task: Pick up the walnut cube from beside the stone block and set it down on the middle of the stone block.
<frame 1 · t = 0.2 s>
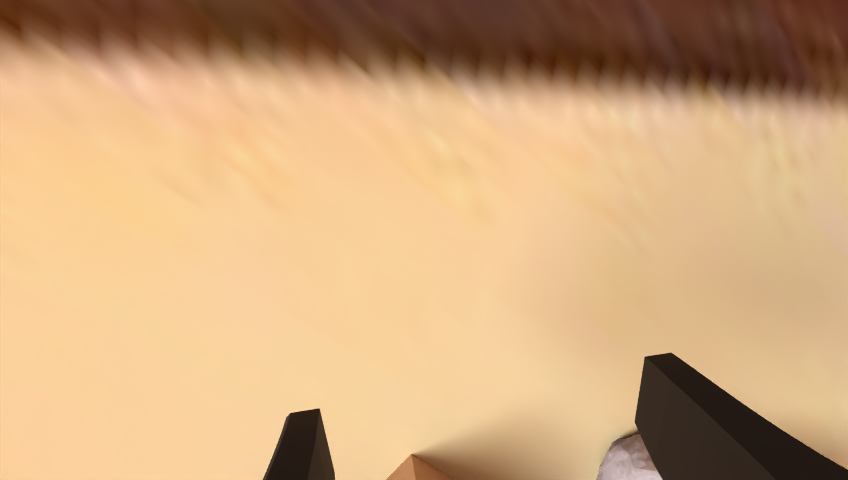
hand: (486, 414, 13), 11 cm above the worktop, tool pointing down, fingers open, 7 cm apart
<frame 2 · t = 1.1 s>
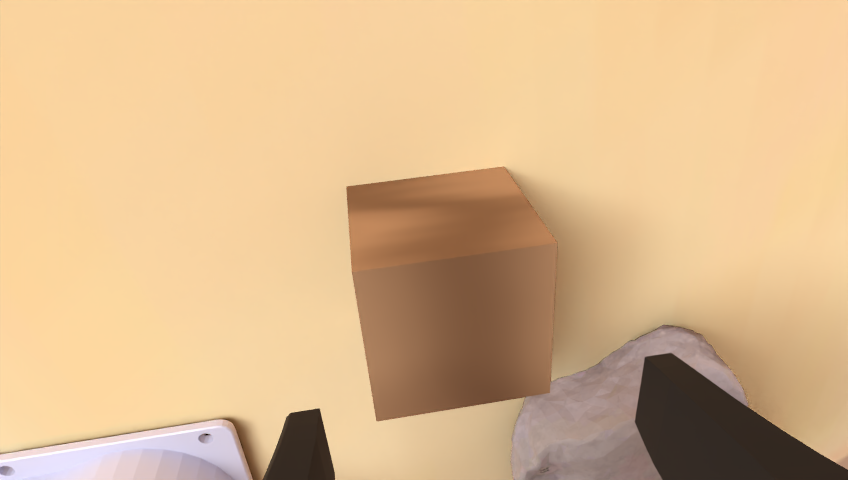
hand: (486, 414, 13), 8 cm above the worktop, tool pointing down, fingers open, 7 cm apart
stone block: (610, 438, 26), on the worktop
walnut cube: (431, 243, 19), on the worktop
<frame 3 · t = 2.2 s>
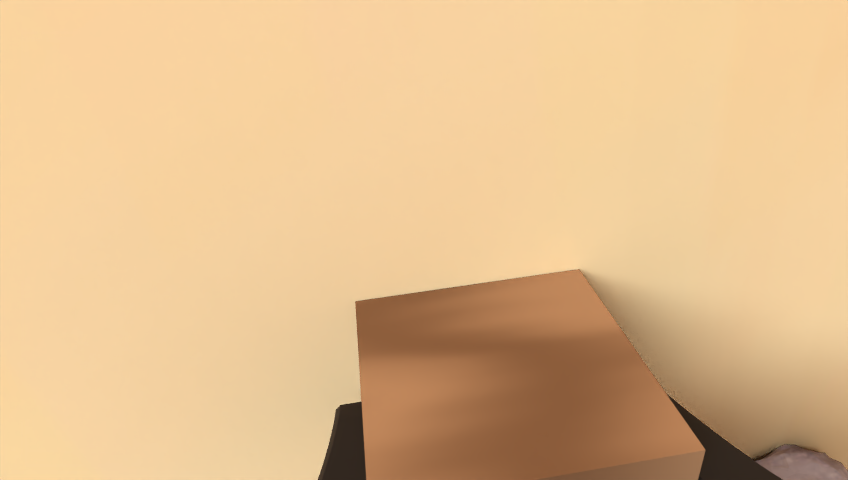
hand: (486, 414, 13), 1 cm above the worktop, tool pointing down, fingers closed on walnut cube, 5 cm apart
walnut cube: (472, 370, 14), on the worktop, touching gripper
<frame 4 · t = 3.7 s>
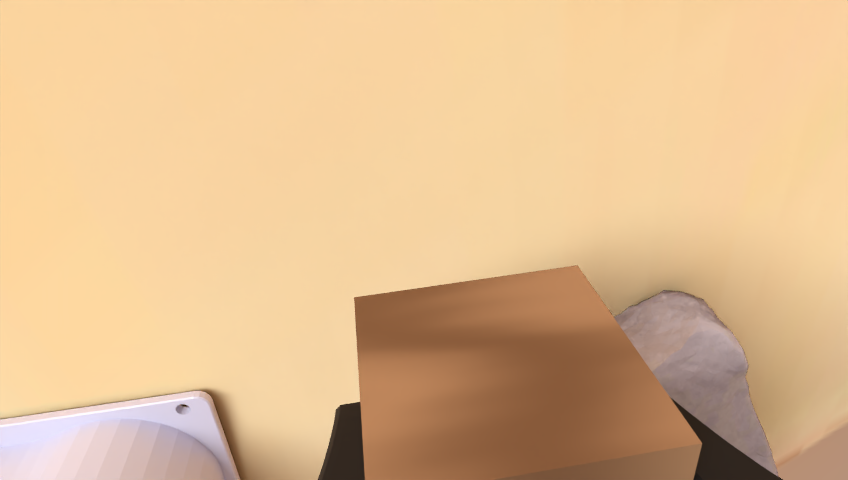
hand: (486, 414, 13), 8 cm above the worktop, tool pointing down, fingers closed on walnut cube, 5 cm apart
stone block: (611, 407, 26), on the worktop
walnut cube: (471, 366, 14), point 7 cm above the worktop, touching gripper
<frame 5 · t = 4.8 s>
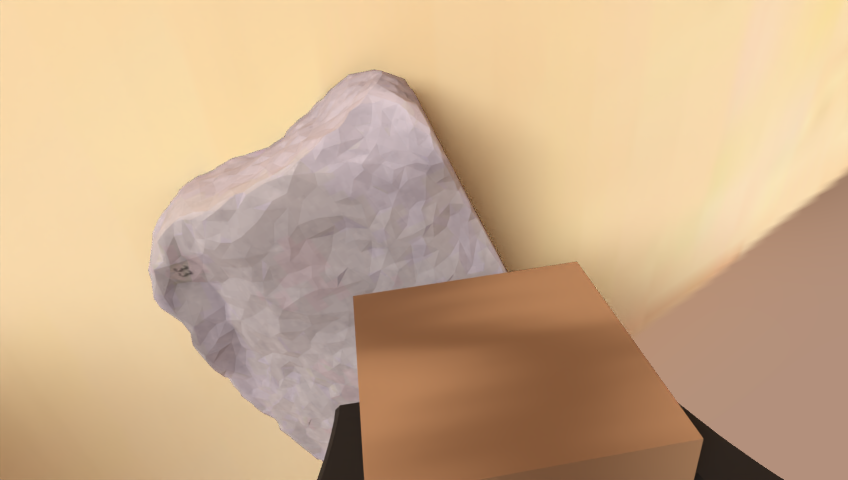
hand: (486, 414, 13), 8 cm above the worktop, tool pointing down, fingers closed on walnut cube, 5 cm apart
stone block: (350, 271, 20), on the worktop
walnut cube: (471, 364, 14), point 6 cm above the worktop, touching gripper
when the fingers open (6 cm above the worktop, at t = 5.6 s): walnut cube stays where it is, resting on stone block.
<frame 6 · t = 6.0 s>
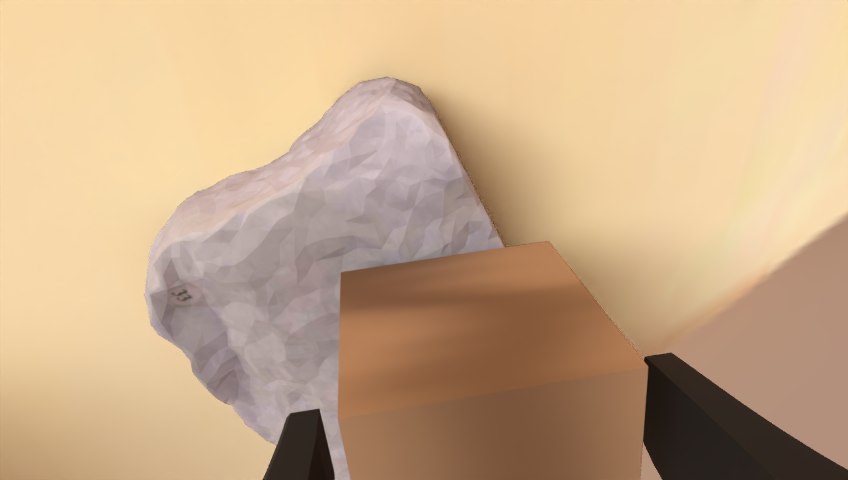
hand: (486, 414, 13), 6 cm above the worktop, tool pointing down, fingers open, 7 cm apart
stone block: (360, 290, 19), on the worktop, touching walnut cube
walnut cube: (454, 343, 15), point 4 cm above the worktop, tilted 6°, touching stone block
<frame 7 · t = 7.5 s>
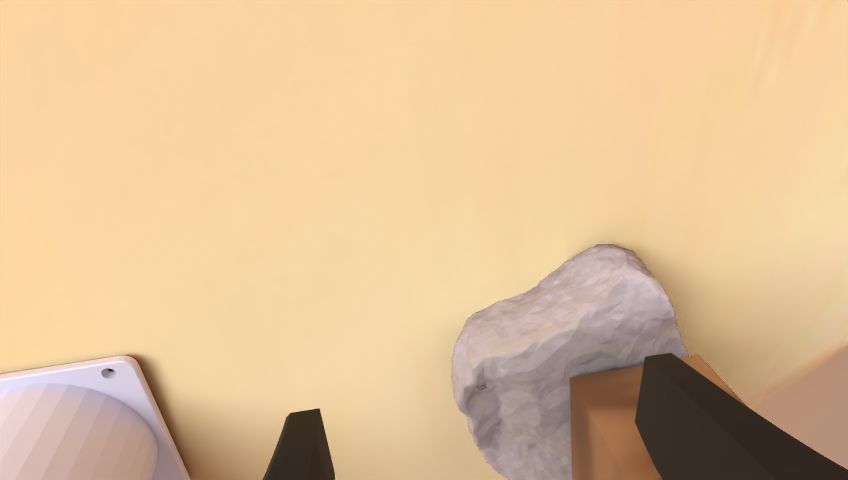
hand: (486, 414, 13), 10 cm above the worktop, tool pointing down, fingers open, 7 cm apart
stone block: (559, 366, 27), on the worktop, touching walnut cube
walnut cube: (632, 418, 22), point 4 cm above the worktop, tilted 6°, touching stone block
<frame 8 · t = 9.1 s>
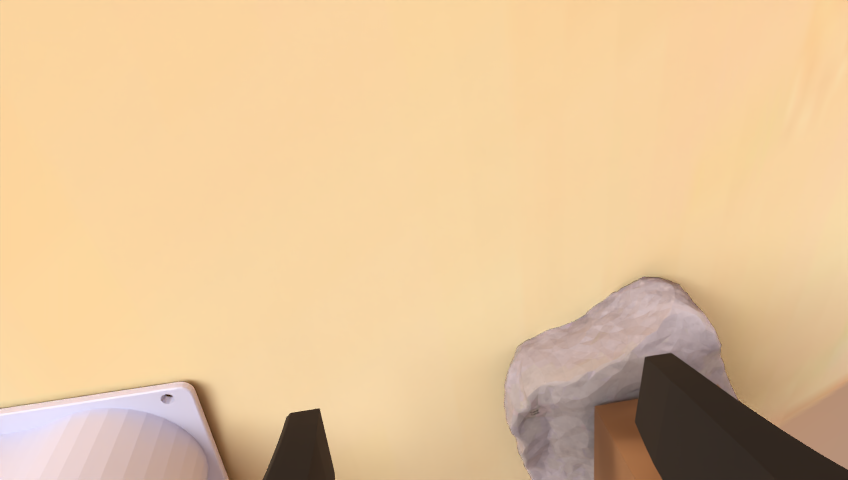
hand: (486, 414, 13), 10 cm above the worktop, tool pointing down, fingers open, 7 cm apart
stone block: (600, 389, 28), on the worktop, touching walnut cube
walnut cube: (653, 442, 23), point 4 cm above the worktop, tilted 5°, touching stone block
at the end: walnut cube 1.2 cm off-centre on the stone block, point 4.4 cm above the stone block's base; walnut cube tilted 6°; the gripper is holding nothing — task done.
